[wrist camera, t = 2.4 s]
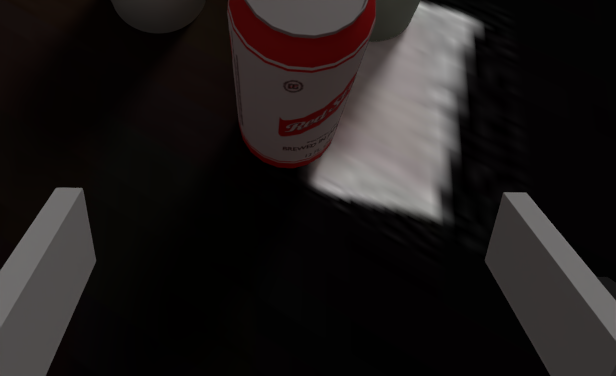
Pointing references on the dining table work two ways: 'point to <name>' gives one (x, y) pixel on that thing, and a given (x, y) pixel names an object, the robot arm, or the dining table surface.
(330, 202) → the dining table surface
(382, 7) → the sage tin
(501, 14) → the dining table surface
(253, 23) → the beer can
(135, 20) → the off-white tin
